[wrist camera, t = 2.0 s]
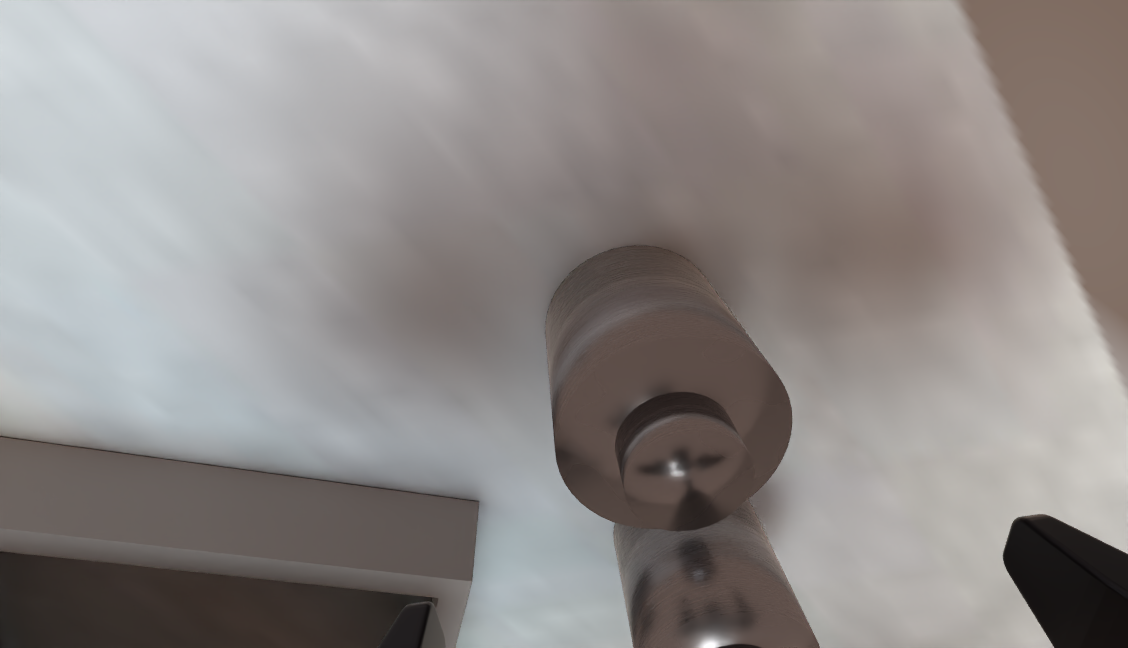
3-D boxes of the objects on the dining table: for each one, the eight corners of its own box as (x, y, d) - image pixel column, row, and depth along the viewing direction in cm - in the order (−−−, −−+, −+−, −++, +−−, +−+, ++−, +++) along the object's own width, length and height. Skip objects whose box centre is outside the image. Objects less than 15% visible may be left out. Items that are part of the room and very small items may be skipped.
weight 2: (775, 484, 19) (878, 668, 14) (723, 584, 21) (794, 779, 16) (637, 464, 18) (687, 650, 13) (597, 569, 20) (625, 769, 15)
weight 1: (743, 265, 16) (865, 397, 10) (683, 411, 18) (758, 586, 12) (569, 227, 15) (598, 347, 9) (528, 385, 17) (532, 559, 11)
